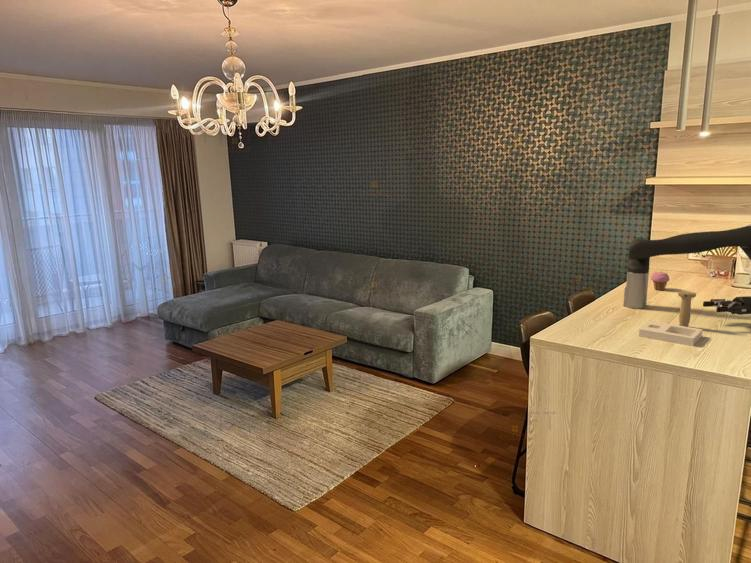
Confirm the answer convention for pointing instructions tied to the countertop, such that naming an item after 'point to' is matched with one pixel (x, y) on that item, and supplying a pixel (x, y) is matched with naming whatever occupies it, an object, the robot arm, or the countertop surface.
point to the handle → (685, 307)
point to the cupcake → (660, 280)
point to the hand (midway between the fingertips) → (710, 306)
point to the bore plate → (671, 333)
